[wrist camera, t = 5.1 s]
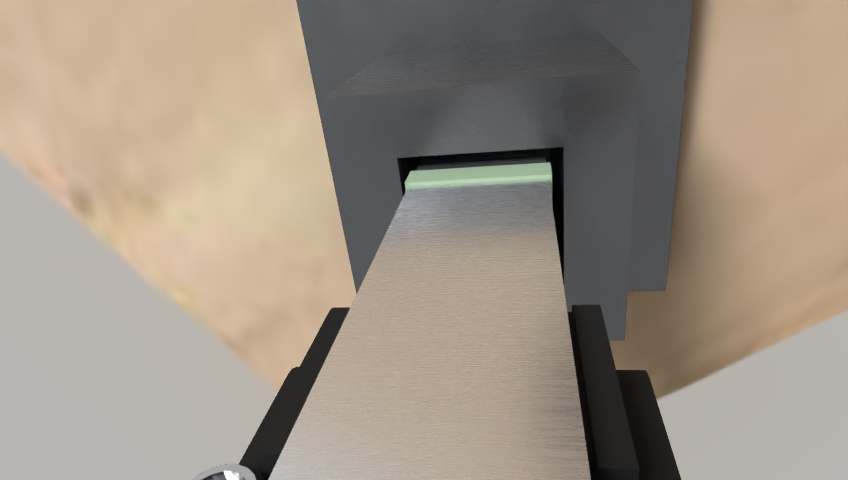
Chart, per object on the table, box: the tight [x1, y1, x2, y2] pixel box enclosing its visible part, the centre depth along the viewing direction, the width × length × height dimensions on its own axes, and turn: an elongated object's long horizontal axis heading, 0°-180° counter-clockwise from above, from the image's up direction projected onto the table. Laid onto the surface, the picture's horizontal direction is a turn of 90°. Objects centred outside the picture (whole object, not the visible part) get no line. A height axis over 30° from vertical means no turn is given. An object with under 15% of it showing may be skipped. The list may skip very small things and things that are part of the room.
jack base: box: [296, 0, 693, 340], centre depth 22 cm, size 16×16×10 cm
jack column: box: [268, 148, 591, 480], centre depth 13 cm, size 4×4×16 cm
